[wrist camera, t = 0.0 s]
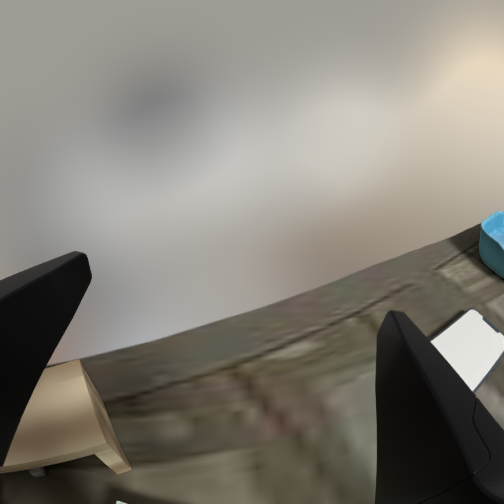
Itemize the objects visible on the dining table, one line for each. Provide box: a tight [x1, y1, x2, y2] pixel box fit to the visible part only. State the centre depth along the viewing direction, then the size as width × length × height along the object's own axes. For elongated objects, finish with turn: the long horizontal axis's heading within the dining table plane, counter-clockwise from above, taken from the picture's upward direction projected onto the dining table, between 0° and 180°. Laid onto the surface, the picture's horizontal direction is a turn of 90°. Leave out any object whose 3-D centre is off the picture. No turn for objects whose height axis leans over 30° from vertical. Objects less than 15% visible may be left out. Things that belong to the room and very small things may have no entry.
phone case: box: [430, 308, 504, 393], centre depth 26 cm, size 9×2×16 cm
